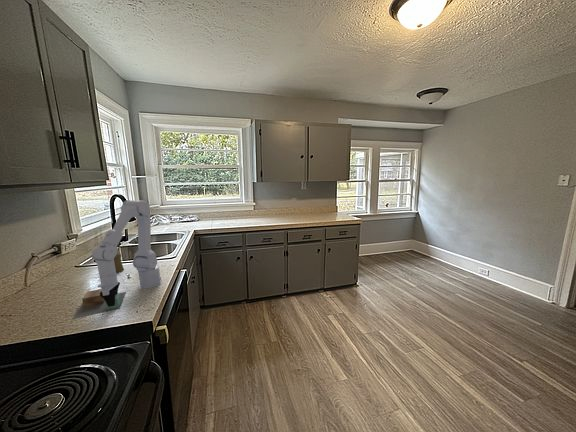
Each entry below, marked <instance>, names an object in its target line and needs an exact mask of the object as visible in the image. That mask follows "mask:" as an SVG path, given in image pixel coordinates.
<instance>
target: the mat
mask: <svg viewBox="0 0 576 432" xmlns="http://www.w3.org/2000/svg"><path fill="white" fill-rule="evenodd" d="M118 294H119V295H120V301H121V302H120V305H119V307H117V308H112V309H108V310H106V308H105V302H104V303H102V304H97V305H92V306H87V307H84V306H83V303H82V304H81V305H80V307H79V308H78V310H77V311H76V312H75V314H74V315H73V317H72V318H71V319H72V320H75V319H80V318H85V317H88V316H89V317H90V316H93V315H97V314H102V313H107V312H111V311H117V310H120V309H121V307H122V304H123V302H124V299H125V296H126V294H127V291H123V292H119V293H118Z"/></svg>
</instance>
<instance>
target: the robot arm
mask: <svg viewBox="0 0 576 432" xmlns="http://www.w3.org/2000/svg"><path fill="white" fill-rule="evenodd" d="M150 207H151V206H150V203H148V202H147V201H146V200H145V199H144V200H143V199H142V200H130V199H126V200H124V201H123V203H122V204H121V206H120V213H119V215H118V217H117V220H116V222H115V223H114V226H113V228H112V229H110V230H108V231H107V232H105V234H104V235H105V236H104V237H103V239H102V241H101V242H100V244H99V246H97V247H95V248H94V249H93V250H92V254H91V258H92V259H93V260H94V261H95V264H96V265H97V266H96V267H97V273H98V276H99V283H98V285H97V288H100V289H102V292H100V296H101V297H102V298H103V299H104V300H105V301H106V303H107V305H108V307H110V306H114V305H115V295H116V294H118V292H119V287H120V284H121V283H120V282H121V281H119V280H118V276H117V273H116V269H115V264H114V257H115V256H116V254H117V253H118V252H117V249H118V246H119V243H120V242H121V240H122V238H123V233H122V232H123V230H124V229H125V228H126V226H127V225H128V223H129V221H130V220H131V219H132V218H135V219H137V242H138V243H137V248H138V249H137V251H136V252H135V253H134V254H133V259H132V265H133V267H134V268H136V270H137V272H138V273H137V274H138V280H139V286H138V290H142V289H147V288H152V287H159V286H161V281H162V276H161V272H160V267H159V266H158V258H157V254H156V252H155V251H154V250H152V247H151V246H152V244H151V243H152V242H151V241H152V236H151V235H152V234H151V230H152V229H151V209H150Z"/></svg>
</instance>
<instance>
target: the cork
mask: <svg viewBox="0 0 576 432" xmlns="http://www.w3.org/2000/svg"><path fill="white" fill-rule="evenodd" d="M121 258H122V254H121V253H120V252H117V254H116V256H115V257H114V264H115V269H116V274H119V272H120V273H122V272H125V271H124V270H125V268H124V266H123V263H122V259H121Z"/></svg>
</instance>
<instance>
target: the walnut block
mask: <svg viewBox="0 0 576 432" xmlns="http://www.w3.org/2000/svg"><path fill="white" fill-rule="evenodd" d="M100 292H102V289H101V288H100V289H94V290H88V291H86V292H85V294H84V295H83V297H82V298H81V300H82V301H81V302H82V304H83V306H84V307H87V306H92V305H97V304H102V303H104V301H105V300H104V299H103V298H102V297H101V296H100Z"/></svg>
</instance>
